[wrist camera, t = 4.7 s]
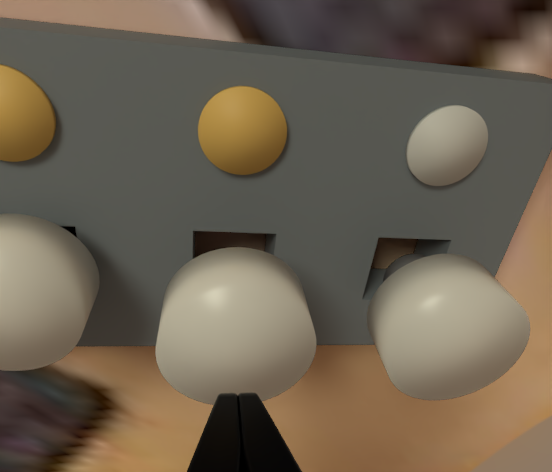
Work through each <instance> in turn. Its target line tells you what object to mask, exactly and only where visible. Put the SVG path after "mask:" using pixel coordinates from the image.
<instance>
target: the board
mask: <svg viewBox="0 0 552 472" xmlns="http://www.w3.org/2000/svg"><path fill="white" fill-rule="evenodd" d="M551 149H552V79H550V78H547V77H543V76H540V75H536V74H529V73H519V72H510V71H501V70H491V69H482V68H472V67H463V66H453V65H444V64H435V63H425V62H416V61H406V60H397V59H387V58H378V57H369V56H359V55H350V54H340V53H331V52H321V51H312V50H303V49H293V48H284V47H274V46H265V45H256V44H246V43H237V42H227V41H218V40H208V39H199V38H190V37H180V36H171V35H161V34H152V33H142V32H133V31H124V30H114V29H105V28H95V27H86V26H76V25H67V24H58V23H48V22H39V21H29V20H20V19H10V18H1V17H0V214H24V215H29V216H35V217H38V218H41V219H45V220H47V221H50V222H52V223H55V224H57V225H58V226H75V228H76V235H77V238H78V239H79V240H80V241H81V242H82V243H83V244H84V245H85V246H86V248H87V249H88V250H89V252H90V253H91V254H92V256H93V258H94V260H95V262H96V265H97V267H98V271H99V279H100V284H99V290H98V293H97V296H96V299H95V301H94V304H93V307H92V309H91V312H90V314H89V317H88V320H87V322H86V325H85V327H84V330H83V333H82V335H81V338H80V340H79V341H78V343H77V345H76V346H156V342H157V336H158V330H159V324H160V318H161V312H162V306H163V300H164V295H165V291H166V289H167V286H168V284H169V282H170V281H171V279H172V277H173V276H174V275H175V274H176V272H177V271H178V270H179V269H180V268H181V267H183V266H184V265H185V264H186V263H188V262H189V261H190V260H192V259H194V258H195V231H214V232H242V233H267V235H266V244H265V252H267V253H270V254H272V255H274V256H276V257H278V258H279V259H281V260H282V261H284V262H285V263H286V264H287V265H288V266H290V267H291V269H292V270H293V271H294V272H295V273H296V275H297V277H298V278H299V280H300V282H301V285H302V288H303V291H304V295H305V298H306V302H307V306H308V309H309V313H310V316H311V320H312V323H313V327H314V331H315V335H316V345H375V344H374V342H373V339H372V337H371V335H370V332H369V329H368V326H367V311H368V307H369V304H370V301H371V299H372V297H373V295H374V294H375V292H376V291H377V289H378V288H379V287H380V285H381V284H382V283H383V277H384V274H385V271H386V270H387V269H370V268H371V264H372V261H373V257H374V253H375V249H376V245H377V242H378V238H379V237H381V238H408V239H418V242H417V245H416V248H415V251H414V254H421V255H424V256H426V257H427V256H431V255H437V254H459V255H464V256H467V257H470V258H472V259H474V260H476V261H478V262H479V263H480V264H482V265H483V266H484V267H485V268H486V269H487V270H488V271H489V272H490V273H491V275H492V276H493V277H495V275H496V273H497V270H498V268H499V266H500V264H501V261H502V259H503V257H504V255H505V252H506V250H507V248H508V246H509V243H510V241H511V239H512V237H513V235H514V232H515V230H516V228H517V226H518V223H519V221H520V219H521V217H522V214H523V212H524V210H525V208H526V205H527V203H528V201H529V199H530V196H531V194H532V192H533V190H534V187H535V185H536V183H537V181H538V178H539V176H540V174H541V172H542V170H543V167H544V165H545V163H546V161H547V158H548V156H549V154H550V152H551Z"/></svg>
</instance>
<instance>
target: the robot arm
mask: <svg viewBox="0 0 552 472" xmlns="http://www.w3.org/2000/svg"><path fill="white" fill-rule="evenodd" d="M187 472H302V471H301V469H300V468H299V466H298V464H297V462H296V461H295V459H294V457H293V455H292V454H291V452H290V450H289V448H288V447H287V445H286V443H285V441H284V440H283V438H282V436H281V434H280V433H279V431H278V429H277V427H276V426H275V424H274V422H273V420H272V419H271V417H270V415H269V413H268V412H267V410H266V408H265V406H264V405H263V403H262V401H261V399H260V398H259V396H258V395H257V394H256V393H254V392H246V393H239V394H238V396H237V394H236V393H220V394H219V395H218V396H217V399H216V401H215V403H214V406H213V408H212V411H211V413H210V416H209V418H208V421H207V423H206V426H205V428H204V431H203V433H202V436H201V438H200V440H199V443H198V445H197V448H196V450H195V453H194V455H193V458H192V460H191V463H190V465H189V468H188V470H187Z"/></svg>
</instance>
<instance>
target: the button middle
mask: <svg viewBox="0 0 552 472" xmlns="http://www.w3.org/2000/svg"><path fill="white" fill-rule="evenodd" d="M315 352H316V335H315V331H314V327H313V323H312V320H311V316H310V313H309V309H308V306H307V302H306V298H305V295H304V291H303V288H302V285H301V282H300V280H299V278H298V277H297V275H296V273H295V272H294V271H293V270H292V269H291V267H290V266H288V265H287V264H286V263H285V262H284V261H282V260H281V259H279V258H278V257H276V256H274V255H272V254H270V253H267V252H264V251H261V250H257V249H252V248H244V247H229V248H222V249H217V250H213V251H209V252H207V253H204V254H201V255H199V256H198V257H196V258H194V259H192V260H190V261H189V262H188V263H186V264H185V265H184V266H183V267H181V268H180V269H179V270H178V271H177V272H176V274H175V275H174V276H173V277H172V279H171V281H170V282H169V284H168V286H167V289H166V291H165V295H164V300H163V306H162V312H161V318H160V324H159V330H158V336H157V342H156V353H155V354H156V361H157V364H158V367H159V370H160V372H161V374H162V375H163V377H164V378H165V379H166V381H167V382H168V383H169V384H170V385H171V386H172V387H173V388H175V389H176V390H177V391H179V392H180V393H182V394H184V395H185V396H187V397H189V398H192V399H194V400H196V401H200V402H203V403H207V404H212V405H214V403H215V401H216V399H217V396H218V395H219V394H220V393H236V394H237V396H238V394H239V393H246V392H254V393H256V394H257V395H258V396H259V398H260V399H261V401H264V400H267V399H270V398H272V397H275V396H277V395H279V394H281V393H283V392H284V391H286V390H288V389H289V388H290V387H292V386H293V385H294V384H295V383H297V382H298V381H299V380H300V379H301V378H302V377H303V375H304V374H305V373H306V372H307V370H308V369H309V367H310V365H311V363H312V361H313V359H314V356H315Z"/></svg>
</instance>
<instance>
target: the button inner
mask: <svg viewBox="0 0 552 472" xmlns="http://www.w3.org/2000/svg"><path fill="white" fill-rule="evenodd" d="M99 284H100V279H99V271H98V267H97V265H96V262H95V260H94V258H93V256H92V254H91V253H90V252H89V250H88V249H87V248H86V246H85V245H84V244H83V243H82V242H81V241H80V240H79V239H78V238H76V237H75V236H74V235H73V234H71V233H70V232H69V231H68V230H67V229H66V228H65V227H63V226H58V225H57V224H55V223H52V222H50V221H47V220H45V219H41V218H38V217H35V216H29V215H24V214H0V370H5V371H21V370H30V369H36V368H40V367H44V366H47V365H50V364H52V363H54V362H56V361H58V360H60V359H62V358H63V357H65V356H66V355H67V354H69V353H70V352H71V351H72V350H73V349H74V347H75V346H76V345H77V343H78V341H79V340H80V338H81V335H82V333H83V330H84V327H85V325H86V322H87V320H88V317H89V314H90V312H91V309H92V307H93V304H94V301H95V299H96V296H97V293H98V290H99Z"/></svg>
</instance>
